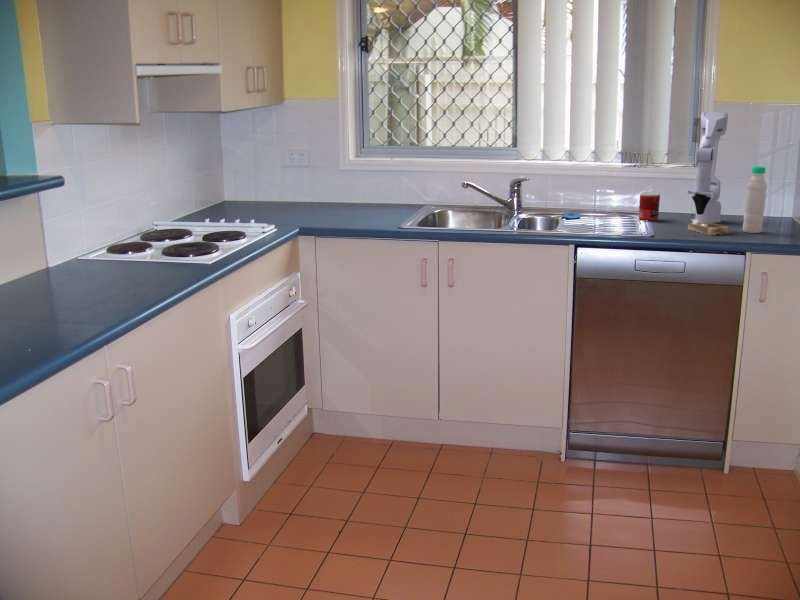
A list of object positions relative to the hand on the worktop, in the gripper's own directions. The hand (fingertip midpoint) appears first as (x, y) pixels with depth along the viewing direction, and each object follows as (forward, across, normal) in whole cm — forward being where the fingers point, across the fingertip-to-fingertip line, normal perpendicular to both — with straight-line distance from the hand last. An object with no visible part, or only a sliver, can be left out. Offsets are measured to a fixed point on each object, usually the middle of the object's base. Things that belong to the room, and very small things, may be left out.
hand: (700, 214), depth 341 cm
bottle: (+4, -2, 0) cm, 5 cm away
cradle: (+6, +4, 0) cm, 8 cm away
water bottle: (+6, +12, +15) cm, 20 cm away
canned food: (+6, -26, -4) cm, 27 cm away
